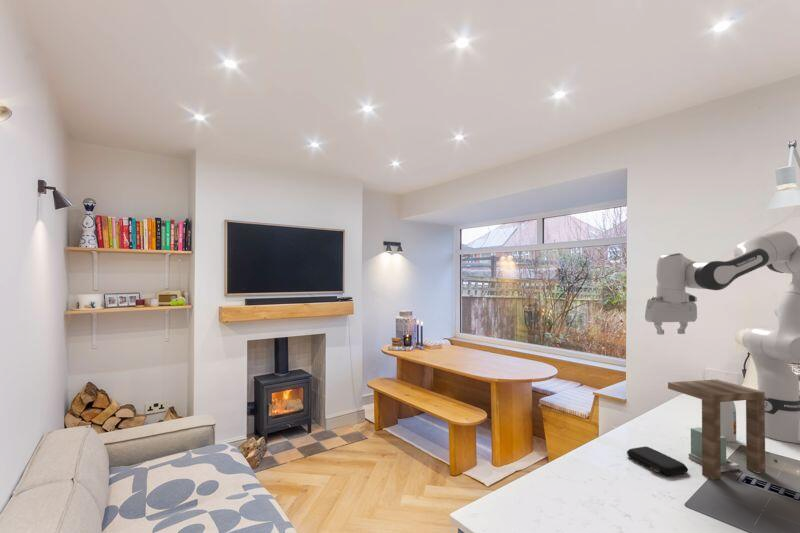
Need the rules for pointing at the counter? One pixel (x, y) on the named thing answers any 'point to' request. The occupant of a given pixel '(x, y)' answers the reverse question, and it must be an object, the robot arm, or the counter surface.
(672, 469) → the carrying case or bag
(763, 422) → the walnut overhang shelf
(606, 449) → the counter surface
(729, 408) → the milk bottle
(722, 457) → the sage rectangular block
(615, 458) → the counter surface
